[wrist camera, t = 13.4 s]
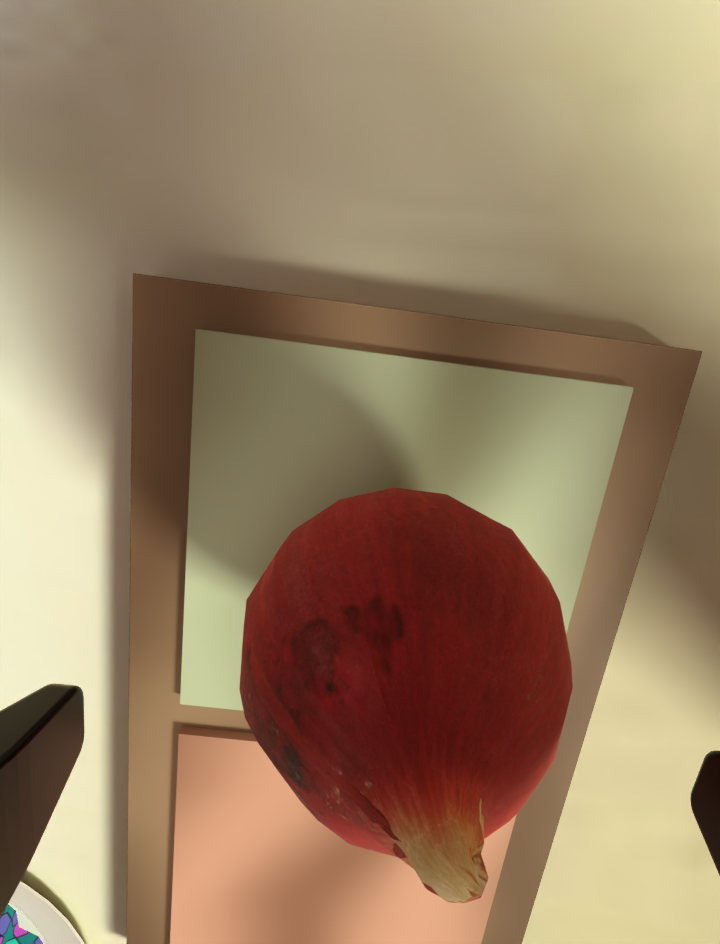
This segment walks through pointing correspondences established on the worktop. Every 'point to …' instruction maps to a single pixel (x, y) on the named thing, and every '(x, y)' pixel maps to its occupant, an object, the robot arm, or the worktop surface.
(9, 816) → the robot arm
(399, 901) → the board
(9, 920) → the pudding
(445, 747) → the onion
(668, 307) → the worktop surface
